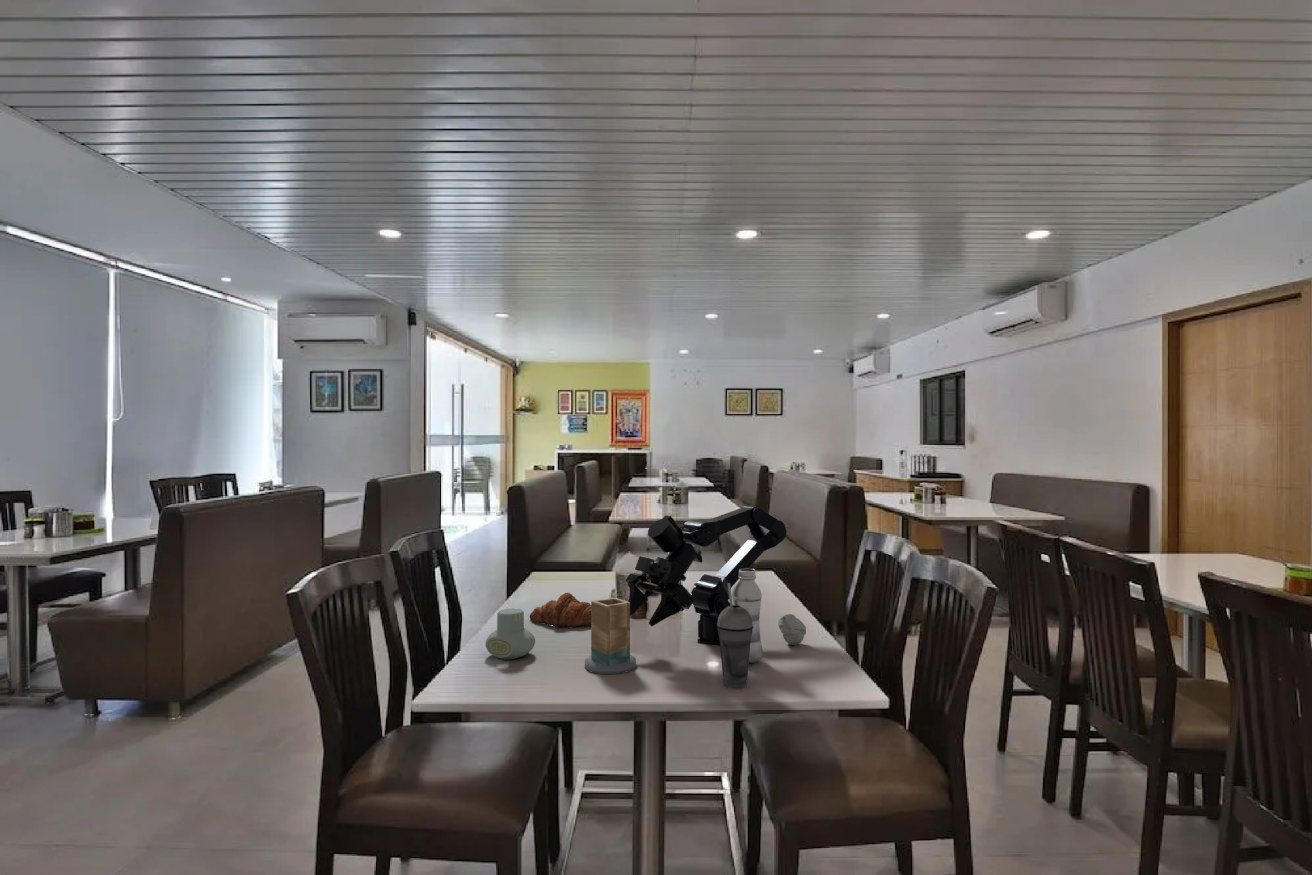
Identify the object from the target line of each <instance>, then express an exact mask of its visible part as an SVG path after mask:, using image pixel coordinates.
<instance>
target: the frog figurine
mask: <svg viewBox="0 0 1312 875" xmlns="http://www.w3.org/2000/svg"><path fill="white" fill-rule="evenodd" d="M777 624H778V628H779V630H780V632H781V634H782V637H783V639H784V641H785V642H786V643H787V644H788V645H791V646H797V645H799V644H801V643H802V642H803V641H804V638H805V635H807V628H806V627H807V626H806V625H805V623H803V622H802V621H801V619H799V618H798V617H796V615H794V614H791V613H788V614H784V615H783V616H781V617H779V619H778V623H777Z"/></svg>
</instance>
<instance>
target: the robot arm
mask: <svg viewBox="0 0 1312 875" xmlns="http://www.w3.org/2000/svg"><path fill="white" fill-rule="evenodd" d="M745 526H746V527H747V528H748V529H749V534H748V539H747V540H746V542H744V544H742V545H741V547H740V548H739V549H738V550H737V551H736V552H735V553H734V554H733V556H732V557H730V559H729V560H727V562H726V563H725V564H724V565H723V566H722V568H720V569H719V570H718V571H717V572H716V574H714V575H710V574H706V573H705V574H703V575H702V576H701V577H700V578H699V580H698V581H697V582H695V583H693V585H694V587H693V588H692V590H691V591H688V589H687V588H686V587H685V586H684V585H683V584H682V583H681V582H685V581H686V580H687V576H686V573H687V571H688V570H689V568H690V567H691V565H692V564H693V562H695V563H703V561H704V560H703V555H702V551H701V550H699V549H695V547H694V546H698V547H705V548H707V547H709V546H710V545H712V544H714V543H715V542H717V541H718V539H719V538H720V537H721V536H722V535H724V534H727V533H729V532H732V531H734V530H737V529H739V528H742V527H745ZM647 535H648V536H649V538H650V539H651V540H652V542H654V544H655V545H656V546H657V547H658V548H659V549H660V551H661V552H662V553H665V554H666V553H668V554H667V555H666V557H660V556H658V557H656V558H655V559H654V558H650V557H646V556H640V555H639V556H638V559H637V562H636V564H635V568H634V570H635V571H640V572H642V573H644V574H646V575H645V576H644V575H643V574H642V573H641V574H640V573H636V572H631V573H629V574H628V576H627V577H626V579H625V582H626V583H627V586H628V587H629V596H628V597H629V598H628V601H627V602H630V617H631V616H632V615H633V614H634V613H636V612H637V611H638V610H639V609H640V608H641V607H642V606H643V605H645V603H647V602H648V601H649V597H651V596H652V594H653V593H655V594H658V595H660V597H661V598H660V603H658V605H657V607H656V609H655V611H654V612H653V613H652V615H651V617H650V620H649V621H648V625H649V626H650V627H654V626H656V625H657V624H659V623H661V622H662V621H664V620H666V619H667V618H669V617H671V616H673V615H675V614H677V613H679V612H684V610H690V608H691V606H692V605H693V608H694V612H695V614H700V615H699V619H698V621H697V637H698V639H697V640H696V641H697V643H703V644H709V645H710V644H711V645H719V646H720V638H719V635H718V628H717V623H718V617H719V615H720V613H721V612H722V611H723V610H724V609H725V608H726V607H728V606H730V600H729V591H728V583H730V587H731V589H732V588H733V586H735V584H737V583H738V582H739V580H740V579H739V578H738V576H739V569H750V568H751V566H753V564H754V563H755V562H756V561H757V560H758V558H760V556H761V555H763V553H764V552H766V551H767V550H770V549H773V548H775V547H777V546H778V545H780V544H781V542H783V541H784V540H785V538H787V528H786V525H785V523H784V521H782V520H779V519H777V518H776V517H774V516H772V515H771V514H769V513H767V512H765V511H764V510H763V509H762V508H760V507H759V506H756V505H743V506H742V507H740V508H738V509H735V510H732V511H729V512H726V513H723V514H720V515H718V516H715V517H713V518H706V519H705V518H704V519H702V518H701V519H691V520H687V521H685V522H684V523H683V525H681V526H679V525H678V524H677V522H676V521H675V519H674V518H673V516H671V515H665V514H664V516H663V517H662V518H661V519H658V520H657V521H655V522H654V523H651V525H650V526H649V528H648V530H647ZM649 580H650V581H649ZM680 583H681V584H680ZM690 592H691V593H690Z"/></svg>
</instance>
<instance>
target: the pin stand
mask: <svg viewBox="0 0 1312 875" xmlns="http://www.w3.org/2000/svg"><path fill="white" fill-rule="evenodd" d="M636 667H637V658H636V657H635V656H633V655H632V654H630V661H627V662H623V663H619V664H615V665H611V666H605V665H602V664H600V663H598V662H596V661H594V660H592V659H591V655H589V656H587V657H586V658H585V659H584V669H585V668H586V669H587V671H588V672H590V671H592V672H591V673H593V672H595V673H594V674H597V673H600V674H599V675H620V674H624V673H623V672H625V673H627V672H626V671H628V672H631V671H633V670H634V669H635V668H636ZM586 669H585V670H586ZM619 673H620V674H619Z"/></svg>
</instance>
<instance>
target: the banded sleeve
mask: <svg viewBox="0 0 1312 875" xmlns="http://www.w3.org/2000/svg"><path fill="white" fill-rule="evenodd" d="M590 605H591V629H590V638H591V639H590V640H591V641H590V649H591V650H590V656H591V659H592V660H594V661H596V662H598V663H600V664H602V665H605V666H611V665H615V664H619V663H623V662H627V661H630V655H631V616H630V602H628V601H627V600H625V599H620V598H617V597H609V598H602V599H598V600H591V602H590Z"/></svg>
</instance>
